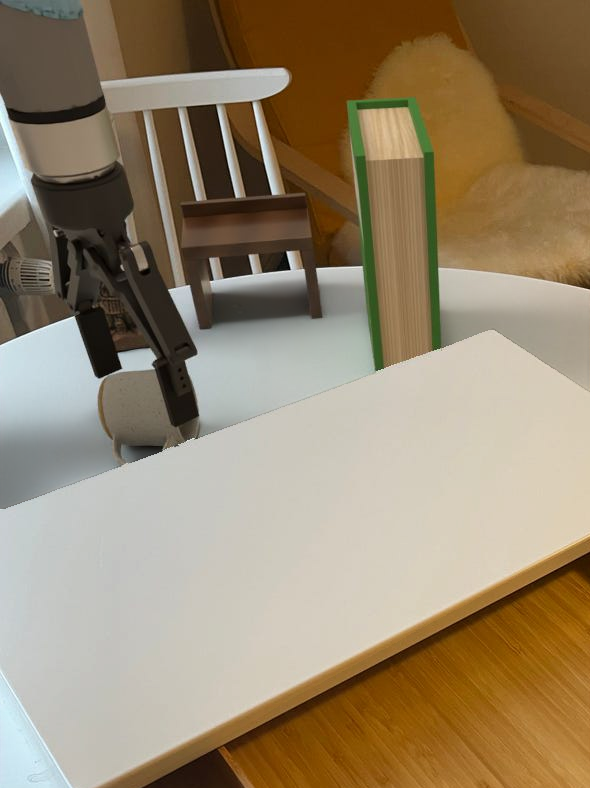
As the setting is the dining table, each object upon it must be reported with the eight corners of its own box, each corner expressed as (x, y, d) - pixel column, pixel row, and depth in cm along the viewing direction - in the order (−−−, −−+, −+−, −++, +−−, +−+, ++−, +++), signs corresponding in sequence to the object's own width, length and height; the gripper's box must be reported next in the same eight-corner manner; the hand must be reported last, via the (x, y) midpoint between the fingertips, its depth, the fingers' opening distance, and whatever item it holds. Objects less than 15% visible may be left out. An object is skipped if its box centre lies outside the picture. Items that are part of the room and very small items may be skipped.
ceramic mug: (127, 420, 100) (106, 354, 95) (204, 419, 100) (187, 353, 95) (100, 479, 93) (76, 412, 87) (183, 478, 93) (163, 411, 87)
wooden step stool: (199, 329, 115) (177, 234, 107) (201, 293, 122) (180, 201, 114) (322, 317, 117) (310, 223, 109) (317, 283, 124) (305, 192, 116)
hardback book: (442, 380, 106) (433, 151, 89) (377, 385, 105) (355, 156, 88) (426, 309, 118) (415, 97, 101) (367, 313, 117) (346, 100, 100)
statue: (98, 354, 110) (41, 175, 96) (100, 327, 115) (46, 152, 101) (158, 347, 112) (110, 169, 98) (157, 320, 117) (112, 147, 102)
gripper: (201, 190, 73) (253, 425, 88) (42, 125, 86) (111, 341, 101) (117, 218, 69) (186, 459, 84) (-37, 146, 82) (47, 368, 97)
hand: (145, 396), depth 93 cm, fingers open, 13 cm apart
